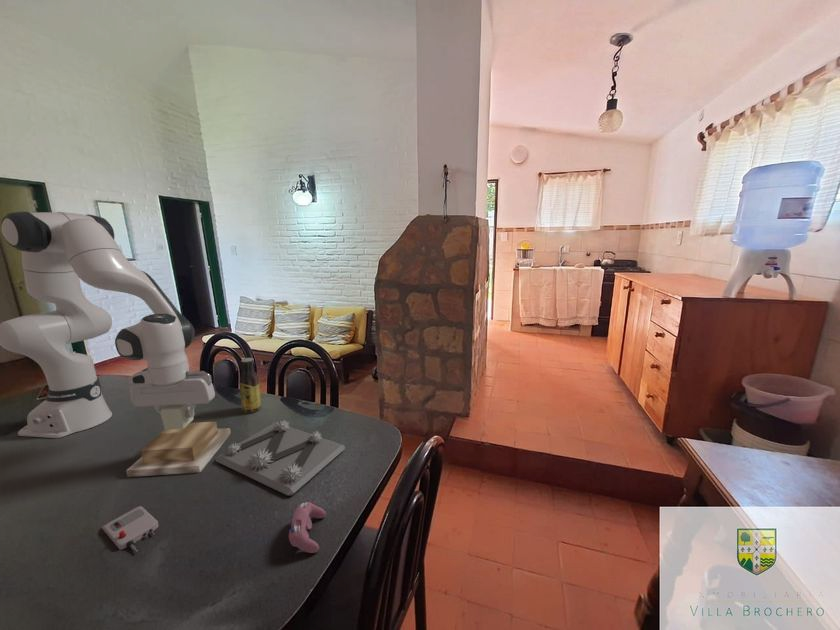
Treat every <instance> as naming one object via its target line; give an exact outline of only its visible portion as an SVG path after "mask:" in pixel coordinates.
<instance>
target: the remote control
mask: <svg viewBox="0 0 840 630" xmlns="http://www.w3.org/2000/svg"><path fill="white" fill-rule="evenodd" d="M158 527H159V521H158V520H157V519H156V518H155V517H154V516H153V515H152V514H151V513H149V512H148V510H146V509H145V508H144V507H143V506H142V505H141V506H140V505H139V506H136V507H135V508H133V509H131V510H129V511H128V512H126V513H124V514H122V515H120V516H118V517H117V518H115V519H113V520H111V521H109V522H108V523H105V524H104V525H103V526H101V530H103V532H104V533H105V534H106V536H107V537H108V538H109V539H110V540H111V541H112V542H113V544H114V545H115V546H116V547H117V548H118V550H124V549H126V548H129V549H131V550H133V551H134V552H135V553H138V552H139V550H138V549H137V547H136V546H135V544H136V543H137V542H139V541H140V540H142V539H143V538H148V535H149V534H151V535H153V536H154V535H156V534H155V532H154V531H155V530H156V529H157V528H158ZM138 540H139V541H138ZM136 541H137V542H136Z"/></svg>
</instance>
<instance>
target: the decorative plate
mask: <svg viewBox="0 0 840 630" xmlns="http://www.w3.org/2000/svg"><path fill="white" fill-rule="evenodd" d="M287 420H288V419H287ZM287 420H285V419H283V421H282V420H278V421H275V422H273V423H271V424H270V425H268V426H267V427H264V428H263V429H261V430H259V431H258V432H256V433H254V434H253V435H251V436H249V437H247V438H246V439H244V440H242V441H241V442H239V443H237V442H235V443H234V442H232V443H230V445H228V444H227V446H226V447H225V448H226V449H224V451H223V452H222V453H220V454H218V455H217V457H216V458H215V462H216V463H219V464H221V465H223V466H225V467H227V468H229V469H231V470H233V471H236V472H237V473H239V474H242V475H243V476H246V477H248V478H250V479H252V480H254V481H257V482H259V483H260V484H262V485H265V486H267V487H269V488H271V489H273V490H275V491H277V492H280V493H282V494H284V495H285V496H289V497H292V496H293V495H294V494H296V493H297V492H298V491H299V490H300V489H301V488H302V487H304V485H306V484H307V483H309V481H311V479H313V478H314V477H316V475H317V474H318V473H319V472H321V471H322V470H323V469H324V468H325V467H326V466H328V465H329V464H330V463H331V462H332V461H333V460H334V459H335V458H337V456H339V455H340V454H341V453H342V452H344V451H345V449H346V447H345V445H343V444H341V443H339V442H335V441H333V440H329V439H327V438H323V437H322V433H321V432H318V430H316V431H311V432H312V433H309V432H306V431H304V430H302V429H301V430H300V429H298V428H295V427H293V426H291V425H290V421H287Z"/></svg>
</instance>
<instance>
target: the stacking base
mask: <svg viewBox="0 0 840 630" xmlns="http://www.w3.org/2000/svg"><path fill="white" fill-rule="evenodd" d="M217 424H218V423H217V421H202V422H201V421H200V422H190V423H189V424H188V425H187V426H186V427H185V428H184V429H167V430H164V429H163V431H161V432H160V433H159V434H158V435H157V436H155V438H153V439H152V440H151V441H150V442H149V443H148V444H146V446H144V447H143V448H141V449H140V453H141V457H139V459H137V460H136V461H135V462H134V463H133V464H132V465H131V466H130V467H128V468H127V469H126V471H125V472H126V476H127V478H131V477H133V478H134V477H147V476H149V477H150V476H163V475H177V474H178V475H180V474H194V473H201V472H202V471H203V470H204V468H205V467H206V466H207V465H208V463H209V462H210V461H211V459H212V458H213V457H214V455H215V454H216V453H217V452H218V450H219V449H220V448H221V447H222V445H223V444H224V443H225V442H226V440H227V439H228V438H229V436H230V435H231V428H230V427H229V428H228V427H226V428H225V427H223V428H218V425H217Z"/></svg>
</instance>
